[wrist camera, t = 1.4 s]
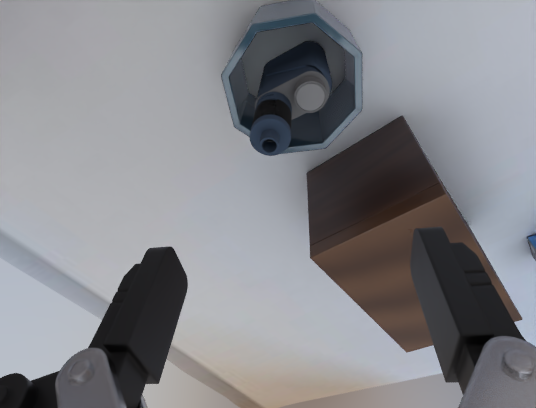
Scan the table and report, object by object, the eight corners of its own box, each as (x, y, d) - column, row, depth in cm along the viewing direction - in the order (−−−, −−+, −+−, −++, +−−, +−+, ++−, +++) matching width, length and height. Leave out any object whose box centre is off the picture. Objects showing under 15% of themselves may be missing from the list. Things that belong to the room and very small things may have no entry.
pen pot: (225, 12, 25) (209, 31, 21) (349, -11, 24) (362, 4, 19) (250, 123, 31) (242, 158, 26) (352, 110, 30) (362, 144, 25)
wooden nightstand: (306, 173, 34) (309, 258, 25) (402, 115, 30) (446, 193, 21) (383, 262, 41) (406, 352, 32) (469, 226, 37) (523, 319, 28)
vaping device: (257, 65, 28) (236, 136, 18) (317, 32, 26) (329, 92, 17) (272, 93, 29) (260, 172, 20) (330, 64, 27) (348, 135, 18)
